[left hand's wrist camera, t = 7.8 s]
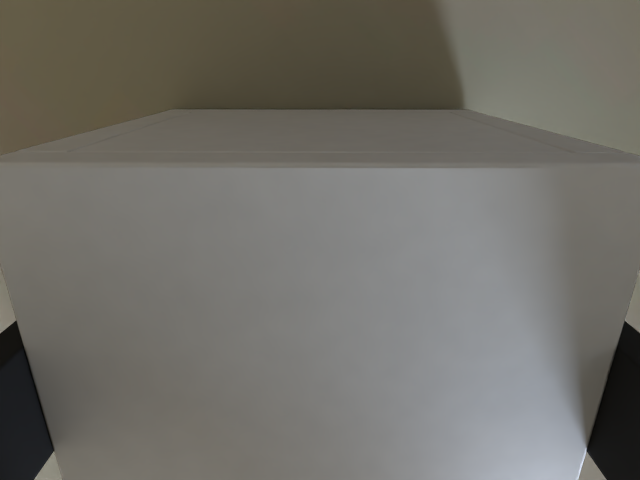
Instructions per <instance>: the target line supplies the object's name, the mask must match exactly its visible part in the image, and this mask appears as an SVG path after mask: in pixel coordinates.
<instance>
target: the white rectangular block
mask: <svg viewBox="0 0 640 480" xmlns="http://www.w3.org/2000/svg"><path fill="white" fill-rule="evenodd" d="M0 265H1V268H2V272H3V275H4V279H5V282H6V286H7V289H8V293H9V296H10V300H11V303H12V306H13V310H14V313H15V317H16V320H17V324H18V327H19V331H20V334H21V338H22V341H23V345H24V348H25V351H26V355H27V358H28V362H29V365H30V369H31V372H32V376H33V379H34V383H35V386H36V390H37V393H38V396H39V400H40V403H41V407H42V410H43V414H44V417H45V421H46V424H47V428H48V431H49V435H50V438H51V441H52V445H53V448H54V452H55V455H56V459H57V462H58V466H59V469H60V473H61V476H62V479H63V480H578V478H579V474H580V471H581V468H582V464H583V461H584V457H585V454H586V451H587V447H588V444H589V440H590V437H591V433H592V430H593V427H594V423H595V420H596V416H597V413H598V410H599V406H600V403H601V399H602V396H603V392H604V389H605V386H606V382H607V379H608V375H609V372H610V369H611V365H612V362H613V358H614V355H615V351H616V348H617V345H618V341H619V338H620V334H621V331H622V328H623V324H624V321H625V317H626V314H627V311H628V307H629V304H630V300H631V297H632V293H633V290H634V287H635V283H636V280H637V276H638V273H639V270H640V156H639V155H635V154H631V153H625V152H623V151H620V150H616V149H613V148H609V147H605V146H601V145H598V144H594V143H590V142H586V141H583V140H579V139H575V138H572V137H568V136H564V135H560V134H557V133H553V132H549V131H545V130H542V129H538V128H534V127H530V126H527V125H523V124H519V123H515V122H512V121H508V120H504V119H501V118H497V117H493V116H489V115H486V114H482V113H478V112H475V111H471V110H275V109H172V110H168V111H164V112H161V113H157V114H153V115H149V116H146V117H142V118H138V119H134V120H130V121H127V122H123V123H119V124H115V125H112V126H108V127H104V128H100V129H97V130H93V131H89V132H85V133H81V134H78V135H74V136H70V137H66V138H63V139H59V140H55V141H51V142H48V143H44V144H40V145H36V146H32V147H29V148H25V149H21V150H17V151H15V152H11V153H7V154H3V155H0Z"/></svg>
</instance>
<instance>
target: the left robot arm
mask: <svg viewBox="0 0 640 480" xmlns="http://www.w3.org/2000/svg"><path fill="white" fill-rule="evenodd" d="M53 451H54V448H53V445H52V441H51V438H50V435H49V431H48V428H47V424H46V421H45V417H44V414H43V410H42V407H41V403H40V400H39V396H38V393H37V390H36V386H35V383H34V379H33V376H32V372H31V369H30V365H29V362H28V358H27V355H26V351H25V348H24V345H23V341H22V338H21V334H20V331H19V327H18V324H17V320H16V321H15V322H14V323H13V324H11V325H10V326H9V327H8V328H7V329H5V330H4V331H3V332H2V333H0V480H34V479H35V477H36V476H37V474H38V473H39V471H40V470H41V469H42V467H43V466H44V464H45V463H46V461H47V460H48V459H49V457H50V456H51V454H52V453H53ZM587 452H588V454H589V455H590V456H591V458H592V459H593V461H594V462H595V464H596V465H597V466H598V468H599V469H600V471H601V472H602V474H603V475H604V476H605V478H606V479H607V480H640V333H639V332H638V331H636V330H635V329H634V328H633V327H632V326H630V325H629V324H628V323H627V322H625V321H624V324H623V328H622V331H621V334H620V338H619V341H618V345H617V348H616V351H615V355H614V358H613V362H612V365H611V369H610V372H609V375H608V379H607V382H606V386H605V389H604V392H603V396H602V399H601V403H600V406H599V410H598V413H597V416H596V420H595V423H594V427H593V430H592V433H591V437H590V440H589V444H588V447H587Z"/></svg>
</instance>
